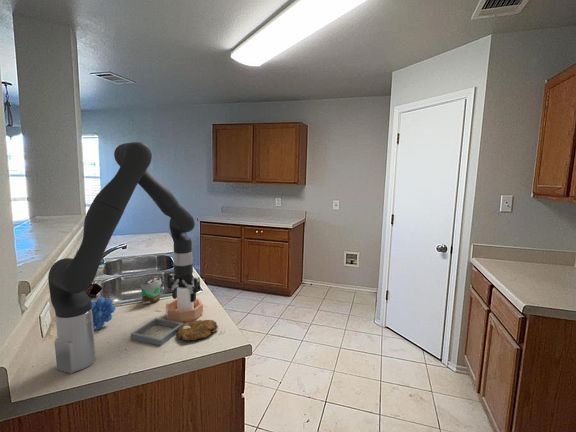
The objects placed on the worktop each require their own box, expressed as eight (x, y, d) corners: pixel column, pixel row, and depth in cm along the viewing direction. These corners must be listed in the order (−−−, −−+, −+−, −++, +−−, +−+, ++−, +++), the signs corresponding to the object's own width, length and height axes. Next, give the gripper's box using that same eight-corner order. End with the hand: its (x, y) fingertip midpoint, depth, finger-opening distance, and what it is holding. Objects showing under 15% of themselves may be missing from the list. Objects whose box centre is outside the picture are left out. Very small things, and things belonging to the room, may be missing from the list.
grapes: (113, 319, 126) (111, 291, 124) (118, 325, 121) (116, 296, 119) (78, 328, 118) (76, 298, 116) (82, 336, 113) (80, 304, 112)
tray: (161, 345, 109) (160, 340, 108) (130, 339, 112) (130, 333, 112) (184, 328, 121) (183, 323, 121) (155, 322, 125) (155, 317, 124)
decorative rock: (210, 323, 126) (173, 335, 117) (209, 313, 126) (172, 325, 117) (223, 333, 118) (184, 348, 108) (222, 323, 117) (183, 337, 108)
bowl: (189, 325, 123) (188, 314, 122) (159, 319, 127) (158, 308, 126) (208, 310, 136) (208, 300, 136) (180, 305, 140) (180, 295, 140)
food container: (155, 307, 138) (154, 285, 137) (141, 306, 138) (140, 284, 137) (166, 295, 150) (165, 275, 149) (153, 295, 151) (153, 275, 149)
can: (188, 317, 128) (188, 289, 126) (174, 315, 129) (173, 287, 127) (196, 310, 134) (196, 283, 132) (182, 308, 135) (182, 281, 133)
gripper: (162, 262, 127) (163, 300, 129) (192, 266, 123) (193, 306, 125) (174, 257, 134) (175, 294, 136) (203, 261, 130) (204, 298, 132)
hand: (184, 299), depth 131 cm, fingers open, 8 cm apart
